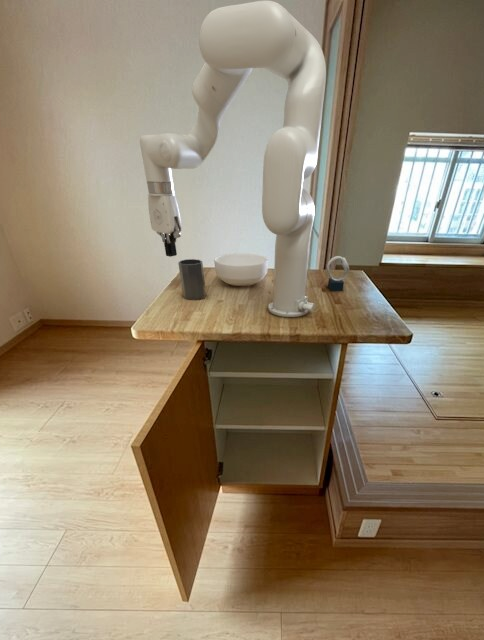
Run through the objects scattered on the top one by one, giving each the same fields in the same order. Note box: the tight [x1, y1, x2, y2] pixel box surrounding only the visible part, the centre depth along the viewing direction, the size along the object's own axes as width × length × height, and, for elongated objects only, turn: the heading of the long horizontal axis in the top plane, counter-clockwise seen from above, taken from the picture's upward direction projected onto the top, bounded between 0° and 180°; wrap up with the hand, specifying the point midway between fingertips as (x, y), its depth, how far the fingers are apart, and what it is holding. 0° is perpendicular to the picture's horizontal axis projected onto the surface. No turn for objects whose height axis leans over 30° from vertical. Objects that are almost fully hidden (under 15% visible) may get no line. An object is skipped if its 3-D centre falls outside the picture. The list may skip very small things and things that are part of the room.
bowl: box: [213, 252, 269, 287], centre depth 117 cm, size 20×20×8 cm
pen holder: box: [177, 258, 207, 301], centre depth 103 cm, size 7×8×11 cm
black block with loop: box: [326, 255, 351, 292], centre depth 112 cm, size 6×8×11 cm
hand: (171, 255), depth 104 cm, fingers closed
